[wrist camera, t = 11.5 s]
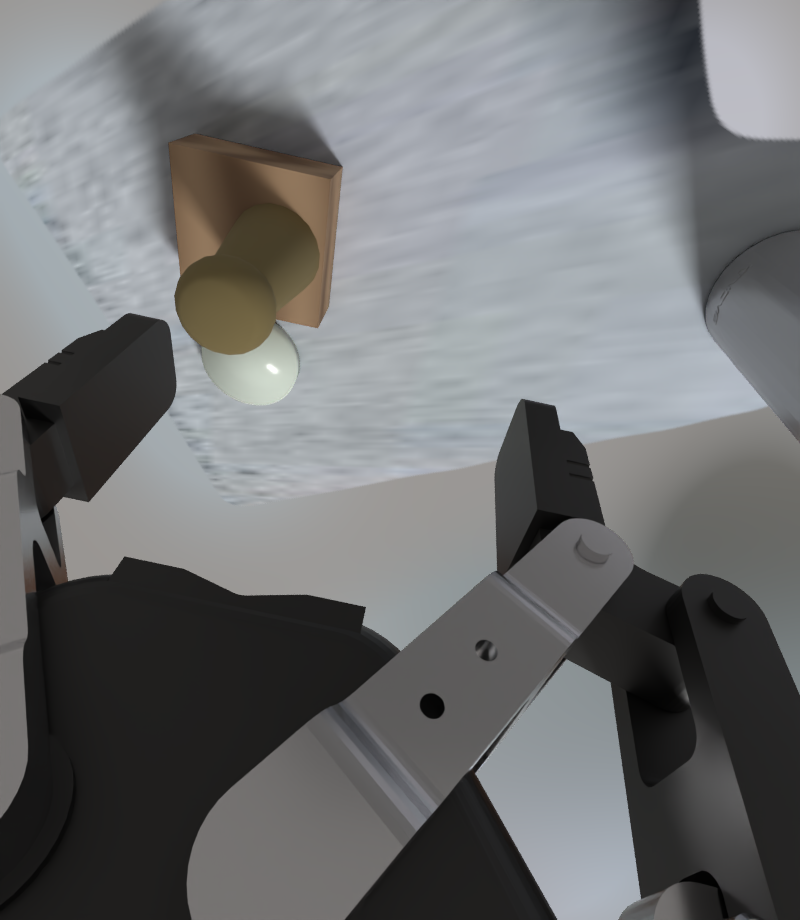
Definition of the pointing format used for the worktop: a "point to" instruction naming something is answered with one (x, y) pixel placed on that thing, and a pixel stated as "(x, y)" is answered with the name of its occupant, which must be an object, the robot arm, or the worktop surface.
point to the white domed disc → (256, 370)
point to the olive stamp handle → (247, 280)
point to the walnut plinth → (241, 187)
